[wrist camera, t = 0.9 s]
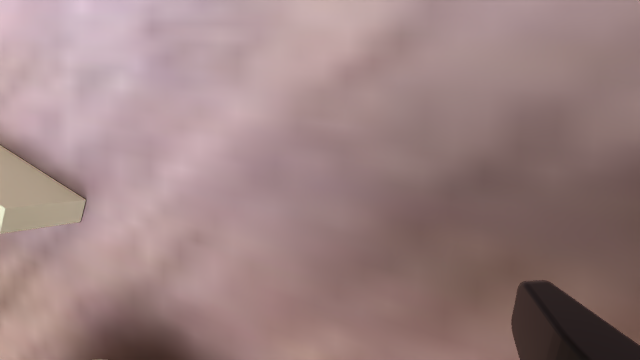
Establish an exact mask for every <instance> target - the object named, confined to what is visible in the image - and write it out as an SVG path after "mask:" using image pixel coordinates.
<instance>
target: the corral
mask: <svg viewBox="0 0 640 360" xmlns="http://www.w3.org/2000/svg"><path fill="white" fill-rule="evenodd" d="M85 202H86V200H85V199H84V198H82V197H81V196H79V195H78V194H76V193H74V192H73V191H71V190H70V189H68V188H67V187H65V186H63V185H62V184H60V183H59V182H57V181H56V180H54V179H52V178H51V177H49V176H48V175H46V174H45V173H43V172H41V171H40V170H38V169H37V168H35V167H34V166H32V165H30V164H29V163H27V162H26V161H24V160H23V159H21V158H19V157H18V156H16V155H15V154H13V153H12V152H10V151H8V150H7V149H5V148H4V147H2V146H1V145H0V234H3V233H10V232H17V231H24V230H30V229H37V228H44V227H51V226H58V225H64V224H71V223H78V222H81V218H82V214H83V210H84V206H85Z"/></svg>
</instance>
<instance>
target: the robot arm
mask: <svg viewBox="0 0 640 360" xmlns="http://www.w3.org/2000/svg"><path fill="white" fill-rule="evenodd" d="M511 324H512V332H513V336H514V340H515V344H516V347H517V351H518V354H519V358H520V360H640V345H638V344H637V343H635V342H634V341H632V340H631V339H630V338H628V337H627V336H625V335H624V334H623V333H621V332H620V331H618V330H617V329H616V328H614V327H613V326H611V325H610V324H608V323H607V322H606V321H604V320H603V319H601V318H600V317H599V316H597V315H596V314H594V313H593V312H592V311H590V310H589V309H587V308H586V307H584V306H583V305H582V304H580V303H579V302H577V301H576V300H575V299H573V298H572V297H570V296H569V295H568V294H566V293H565V292H563V291H562V290H560V289H559V288H558V287H556V286H555V285H553V284H552V283H550V282H549V281H545V280H536V281H524V282H522V283H520V285H519V287H518V290H517V295H516V300H515V305H514V310H513V315H512V323H511Z"/></svg>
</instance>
